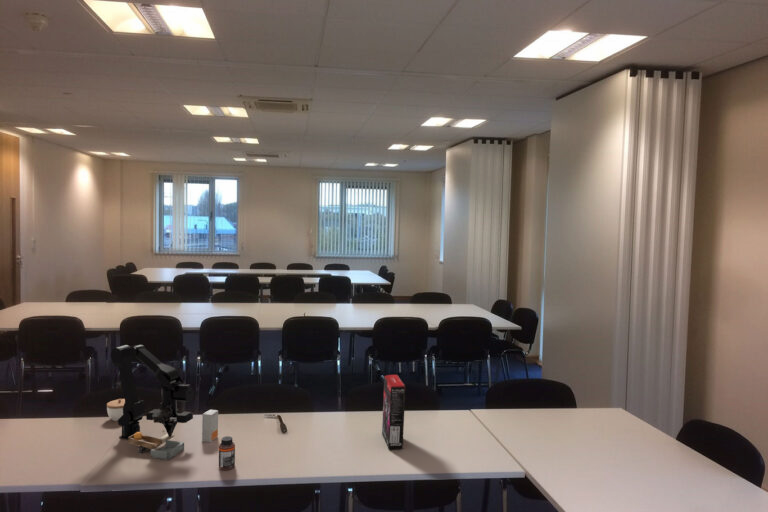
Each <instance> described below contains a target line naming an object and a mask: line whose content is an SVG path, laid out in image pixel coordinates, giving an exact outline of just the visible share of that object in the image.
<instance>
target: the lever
mask: <svg viewBox="0 0 768 512" xmlns="http://www.w3.org/2000/svg"><path fill="white" fill-rule="evenodd" d="M174 437H175V434H173V433H172V436H168V433H166V434H164V435H162V436H161V437H159V438H158V437H153V436H150V435H145V434H142V438H141V439H140V440H138V439H134V434H133V435H131V436H129V437H128V439H127V443H128V444H131V445H134V446H135V445H136V446H138V447H140V446H143V447H147V448H150V450H152V449H154V450H156V448H158V447H160V446H161V445H163V444H164V443H165V444H166V440H172V439H173V438H174Z"/></svg>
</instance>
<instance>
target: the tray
mask: <svg viewBox="0 0 768 512" xmlns="http://www.w3.org/2000/svg"><path fill="white" fill-rule="evenodd" d="M184 450H185V442H184V441H177V440H171V439H169V440H166V442H165V446H163V447H162V448H160V449H150V458H152V459H159V460H166V461H170V460H171V459H173V458H174V457H176V456H177V455H179V454H180V453H181V452H183V451H184Z"/></svg>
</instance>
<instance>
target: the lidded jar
mask: <svg viewBox="0 0 768 512" xmlns="http://www.w3.org/2000/svg"><path fill="white" fill-rule="evenodd" d="M124 403H125V398H118V399H114V400H111V401H109V402H107V403H106V412H107V415H108V417H109V418H110V419H111V420H112V421H113V422H118V419H119V418H120V417H121V416H122V415H123V406H124Z"/></svg>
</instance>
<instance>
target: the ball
mask: <svg viewBox="0 0 768 512" xmlns="http://www.w3.org/2000/svg"><path fill="white" fill-rule="evenodd" d="M142 435H143V433H142V432H141V431H140V432H136V433H135V434H134V439H138V440H140V439H141V438H142Z"/></svg>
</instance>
